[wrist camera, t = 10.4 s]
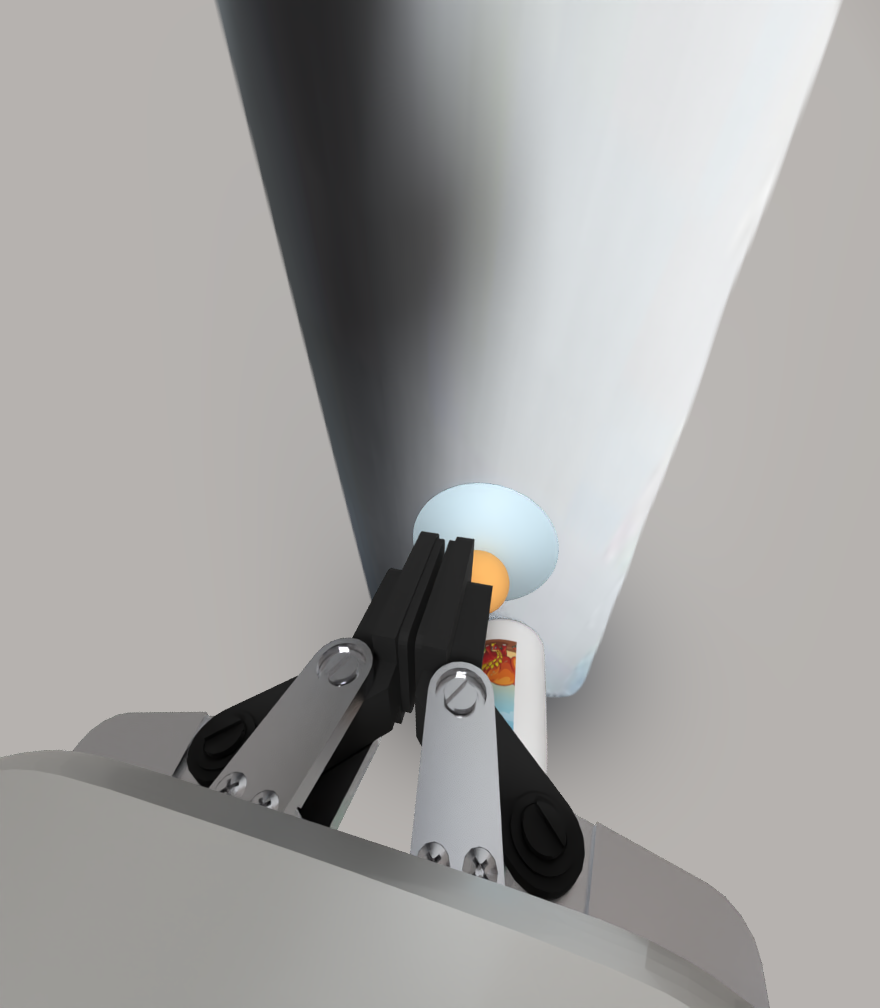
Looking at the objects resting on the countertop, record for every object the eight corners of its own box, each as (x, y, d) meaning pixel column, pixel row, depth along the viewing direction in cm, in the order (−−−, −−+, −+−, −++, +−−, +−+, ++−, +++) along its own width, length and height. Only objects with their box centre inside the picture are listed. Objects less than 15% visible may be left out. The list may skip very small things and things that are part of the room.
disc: (411, 474, 29) (411, 475, 29) (573, 493, 27) (573, 494, 27) (415, 587, 36) (414, 589, 36) (544, 611, 34) (544, 612, 34)
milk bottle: (548, 622, 34) (562, 931, 18) (540, 671, 38) (545, 962, 22) (470, 610, 36) (416, 884, 19) (470, 658, 40) (424, 920, 23)
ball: (454, 539, 33) (442, 555, 28) (513, 547, 32) (513, 566, 27) (448, 594, 34) (436, 620, 28) (506, 604, 33) (504, 633, 27)
